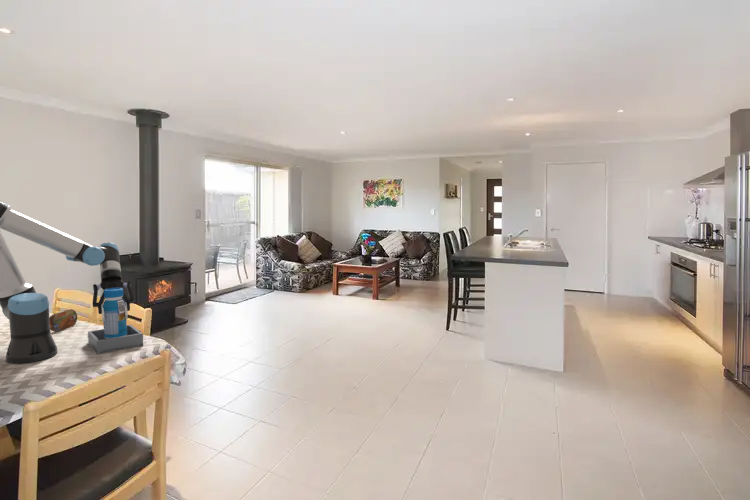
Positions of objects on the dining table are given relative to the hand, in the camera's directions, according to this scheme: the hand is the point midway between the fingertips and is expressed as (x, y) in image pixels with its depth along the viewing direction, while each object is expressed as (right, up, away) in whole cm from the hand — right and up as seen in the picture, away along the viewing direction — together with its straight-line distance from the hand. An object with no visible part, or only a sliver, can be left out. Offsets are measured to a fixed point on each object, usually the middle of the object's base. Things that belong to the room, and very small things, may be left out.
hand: (115, 318), depth 171 cm
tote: (-2, -11, +4) cm, 12 cm away
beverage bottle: (-2, -8, +4) cm, 9 cm away
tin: (-40, -9, +25) cm, 48 cm away
